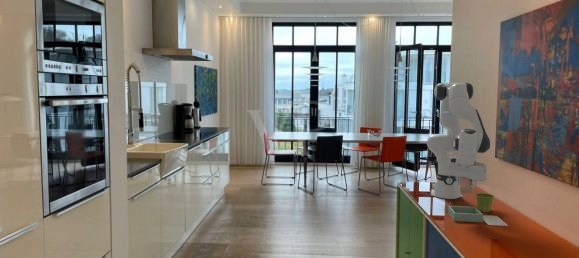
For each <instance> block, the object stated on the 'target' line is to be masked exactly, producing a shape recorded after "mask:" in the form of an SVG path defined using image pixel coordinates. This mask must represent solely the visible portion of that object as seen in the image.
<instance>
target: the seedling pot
mask: <svg viewBox="0 0 579 258" xmlns="http://www.w3.org/2000/svg"><path fill="white" fill-rule="evenodd" d="M473 183H474V182H473V180H471V179H467V178H462V177H460V193H461V194H473V188H471V185H472V184H473Z"/></svg>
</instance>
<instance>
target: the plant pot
mask: <svg viewBox="0 0 579 258" xmlns="http://www.w3.org/2000/svg"><path fill="white" fill-rule="evenodd" d="M475 196H476V201H477V203H476V204H477V209H478V210H479V211H480V212H481V213H489V212H491V210H492V209H491V208H492V204H493V201H494V198H495V195H493V194H491V193H483V192H481V193H476V194H475Z"/></svg>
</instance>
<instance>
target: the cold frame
mask: <svg viewBox="0 0 579 258" xmlns="http://www.w3.org/2000/svg"><path fill="white" fill-rule="evenodd" d="M447 214H448V215H449V216H450V218H451V219H452V221H454V222H466V223H467V222H469V223H470V222H471V223H483V222H484V220H483V215H484V214H483V212H482V211H479V210H478V207H476V206H466V205H465V206H464V205H463V206H461V205H459V206H458V205H447Z"/></svg>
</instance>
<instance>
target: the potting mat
mask: <svg viewBox="0 0 579 258" xmlns="http://www.w3.org/2000/svg"><path fill="white" fill-rule="evenodd" d="M483 222H485V223H486V224H487V225H488V226H499V227H502V226H503V227H509V225H508V224H507V223H506V222H505V221H503V220H502V219H501V218H500V217H499V216H498V215H489V214H488V215H485V214H483Z"/></svg>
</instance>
